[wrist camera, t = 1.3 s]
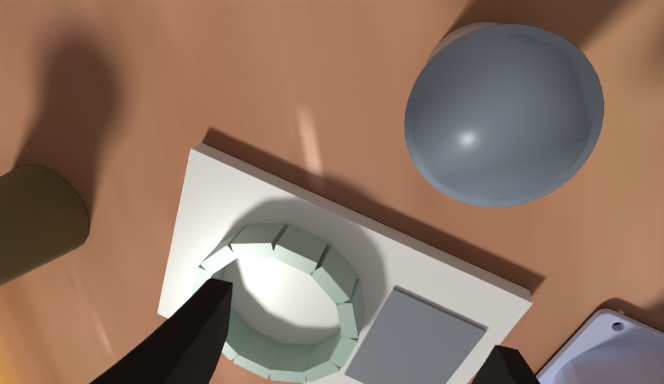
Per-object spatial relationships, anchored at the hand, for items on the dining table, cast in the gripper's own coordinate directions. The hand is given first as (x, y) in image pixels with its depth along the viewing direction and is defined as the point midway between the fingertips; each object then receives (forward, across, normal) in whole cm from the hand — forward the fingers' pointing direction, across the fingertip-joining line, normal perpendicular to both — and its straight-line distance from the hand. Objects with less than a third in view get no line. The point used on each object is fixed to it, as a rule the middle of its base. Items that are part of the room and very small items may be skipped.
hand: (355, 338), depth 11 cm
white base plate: (+9, +1, +8) cm, 12 cm away
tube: (+10, -3, -5) cm, 12 cm away
